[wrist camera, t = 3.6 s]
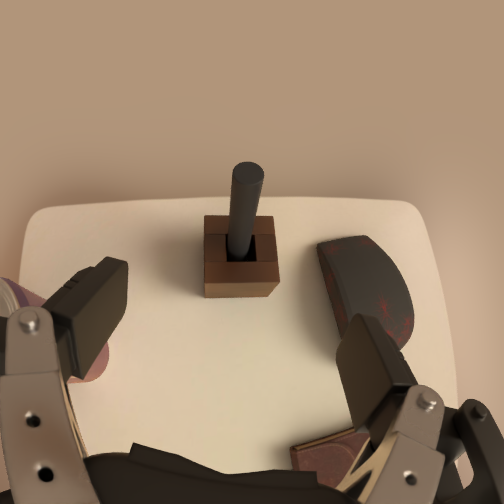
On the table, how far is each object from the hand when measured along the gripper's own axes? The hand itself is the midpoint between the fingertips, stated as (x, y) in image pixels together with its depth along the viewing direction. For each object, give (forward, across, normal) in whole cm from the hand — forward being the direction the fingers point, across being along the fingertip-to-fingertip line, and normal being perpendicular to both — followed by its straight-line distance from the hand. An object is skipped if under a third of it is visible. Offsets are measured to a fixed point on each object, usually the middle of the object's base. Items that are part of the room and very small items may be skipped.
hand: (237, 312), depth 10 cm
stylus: (+18, 0, +7) cm, 19 cm away
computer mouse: (+18, -13, +8) cm, 23 cm away
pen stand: (+18, 0, +7) cm, 19 cm away
